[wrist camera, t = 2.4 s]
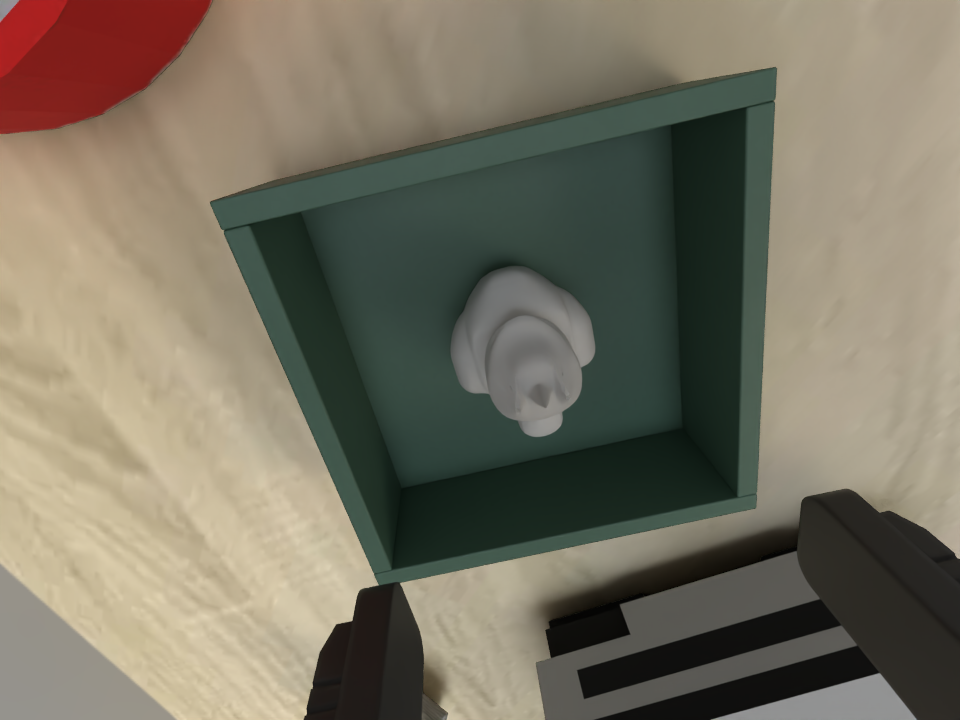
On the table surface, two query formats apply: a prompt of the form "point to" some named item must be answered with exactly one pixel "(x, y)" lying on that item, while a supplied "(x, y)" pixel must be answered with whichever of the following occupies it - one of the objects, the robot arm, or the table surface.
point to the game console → (714, 655)
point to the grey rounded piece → (523, 347)
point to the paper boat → (432, 710)
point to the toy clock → (84, 55)
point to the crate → (567, 264)
